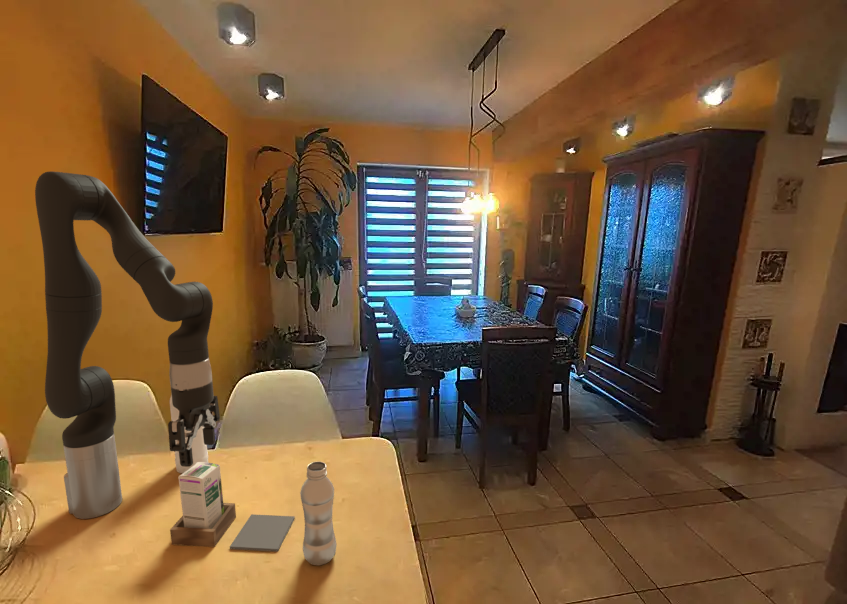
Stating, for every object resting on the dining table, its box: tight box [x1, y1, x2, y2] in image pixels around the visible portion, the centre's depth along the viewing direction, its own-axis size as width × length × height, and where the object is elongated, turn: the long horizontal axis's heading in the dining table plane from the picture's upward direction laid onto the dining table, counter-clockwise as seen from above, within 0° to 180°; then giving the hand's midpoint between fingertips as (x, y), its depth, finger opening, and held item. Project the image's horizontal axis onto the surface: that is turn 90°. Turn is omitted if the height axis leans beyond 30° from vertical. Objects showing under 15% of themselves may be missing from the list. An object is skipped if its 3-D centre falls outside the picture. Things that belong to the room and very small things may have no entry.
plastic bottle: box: [299, 460, 337, 566], centre depth 86 cm, size 6×7×20 cm
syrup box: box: [178, 462, 224, 529], centre depth 93 cm, size 6×6×14 cm
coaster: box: [229, 513, 296, 553], centre depth 94 cm, size 10×10×1 cm
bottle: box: [169, 394, 209, 474], centre depth 116 cm, size 8×8×30 cm
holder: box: [169, 502, 237, 548], centre depth 94 cm, size 9×9×4 cm
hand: (198, 454), depth 91 cm, fingers open, 8 cm apart
